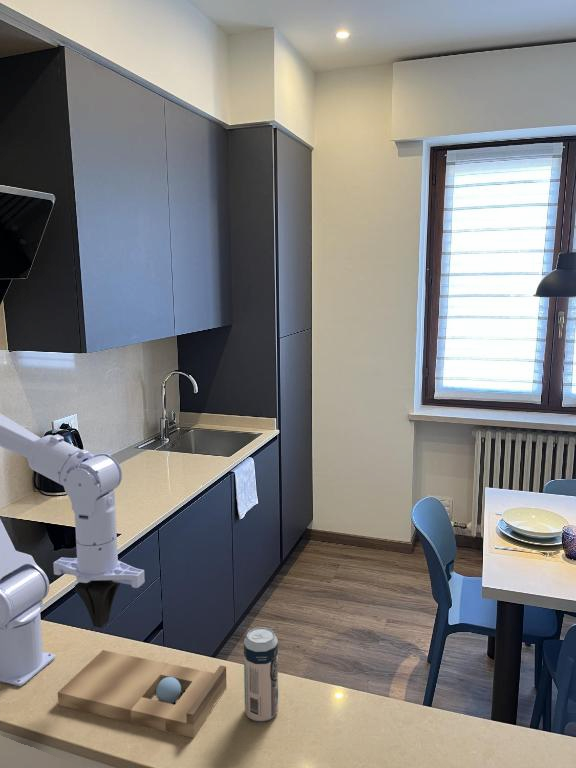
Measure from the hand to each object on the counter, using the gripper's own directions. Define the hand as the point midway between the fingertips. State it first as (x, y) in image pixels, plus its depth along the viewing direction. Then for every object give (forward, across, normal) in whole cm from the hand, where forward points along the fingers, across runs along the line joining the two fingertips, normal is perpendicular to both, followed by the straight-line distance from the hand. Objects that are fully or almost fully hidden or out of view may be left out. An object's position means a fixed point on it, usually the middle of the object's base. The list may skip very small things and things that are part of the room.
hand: (101, 623), depth 88 cm
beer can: (+11, +25, +2) cm, 27 cm away
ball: (+9, +11, 0) cm, 14 cm away
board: (+10, +7, 0) cm, 13 cm away
